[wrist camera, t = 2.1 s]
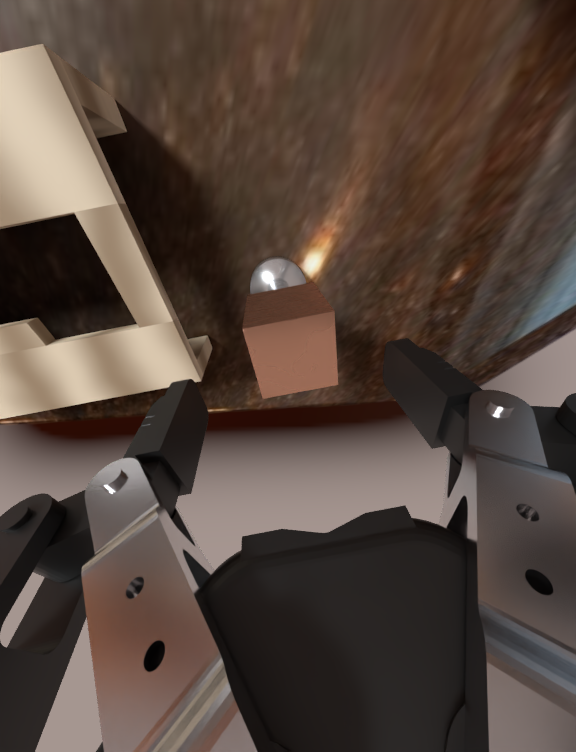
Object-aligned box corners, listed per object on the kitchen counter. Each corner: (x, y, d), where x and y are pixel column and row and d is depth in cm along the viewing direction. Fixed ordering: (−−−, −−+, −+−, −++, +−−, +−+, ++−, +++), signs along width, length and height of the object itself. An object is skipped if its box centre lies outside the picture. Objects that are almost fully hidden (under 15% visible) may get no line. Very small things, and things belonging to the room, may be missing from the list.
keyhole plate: (114, 98, 15) (42, 43, 10) (212, 347, 25) (201, 381, 20) (-250, 174, 15) (-492, 156, 10) (-5, 389, 26) (-68, 431, 21)
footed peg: (300, 251, 21) (345, 297, 10) (306, 306, 24) (347, 390, 13) (244, 262, 21) (227, 320, 10) (257, 315, 24) (255, 407, 13)
